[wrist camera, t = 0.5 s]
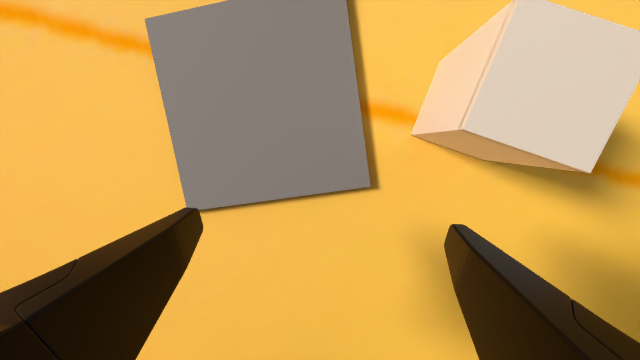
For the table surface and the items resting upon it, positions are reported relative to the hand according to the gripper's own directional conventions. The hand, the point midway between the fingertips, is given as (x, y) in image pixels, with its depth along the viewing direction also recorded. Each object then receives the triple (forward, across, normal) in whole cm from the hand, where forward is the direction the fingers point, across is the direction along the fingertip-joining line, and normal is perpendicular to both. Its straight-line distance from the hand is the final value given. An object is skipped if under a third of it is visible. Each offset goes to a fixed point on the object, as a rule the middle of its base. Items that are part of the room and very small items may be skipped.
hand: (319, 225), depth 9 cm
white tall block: (+14, -10, -1) cm, 17 cm away
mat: (+14, +6, -1) cm, 16 cm away
